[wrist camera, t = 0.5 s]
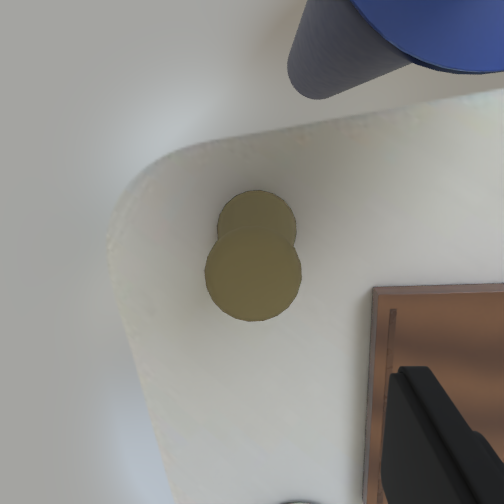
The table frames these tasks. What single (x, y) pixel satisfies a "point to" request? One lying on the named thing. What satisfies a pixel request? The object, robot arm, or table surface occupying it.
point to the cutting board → (437, 359)
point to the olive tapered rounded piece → (254, 258)
